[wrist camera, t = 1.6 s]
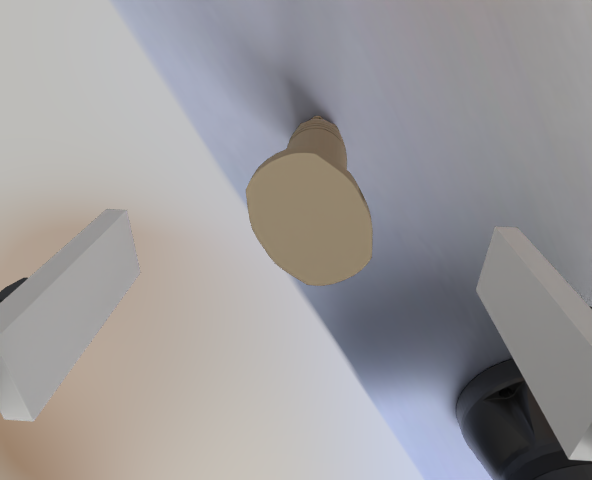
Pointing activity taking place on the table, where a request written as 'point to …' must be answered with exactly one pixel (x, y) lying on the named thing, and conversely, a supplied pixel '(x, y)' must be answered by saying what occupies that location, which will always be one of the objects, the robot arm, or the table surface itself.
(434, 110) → the table surface
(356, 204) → the handle
